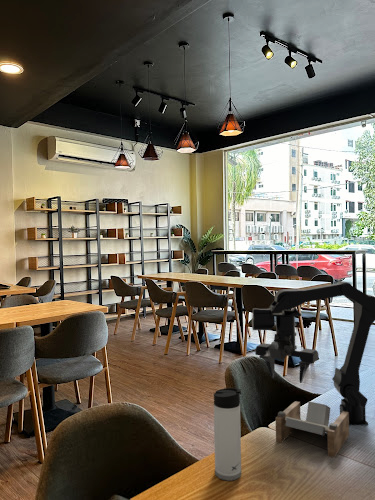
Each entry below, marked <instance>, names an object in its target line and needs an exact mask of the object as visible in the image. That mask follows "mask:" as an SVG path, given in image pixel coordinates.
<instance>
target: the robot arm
mask: <svg viewBox="0 0 375 500" xmlns="http://www.w3.org/2000/svg"><path fill="white" fill-rule="evenodd" d="M335 297H336V298H337V297H345V298H346V299H347V300H349V301H350V302H352V303H353V304H354V307H353V313H354V325H353V327H352V331H351V336H350V339H349V343H348V347H347V351H346V354H345V358H344V362H343V365H342V366H341V367H340V368H337V367H335V370H334V375H333V377H332V378H331V379H332V381H333V386H334V388H335V390H336V391H337V392H338V393H339V394H340V396H341V397H342V398H341V400H340V404H339V415H340V414H341V413H342V412H343V411H345V412H349V426H368V425H369V422H368V421H367V420H366V419H367V416H366V413H367V412H366V406H367V404H368V400H369V399H368V398H367V397H366V396H365V394H363V393H362V392H361V391H360V388H361V380H360V367H361V364H362V360H363V356H364V352H365V348H366V345H367V342H368V337H369V333H370V331H371V330H370V329H371V327H372V326H373V324H374V322H375V296H373V295H371V294H367V293H364V292H363V291H362V290H360V289H358V288H356V287H354V286H353V285H352V284H351V283H349V282H346V281H340V282H337V283H332V284H328V285H321V286H315V287H310V288H304V289H294V288H293V289H292V288H290V289H289V288H288V289H286V288H285V289H284V288H283V289H279V290H277V291H276V293H275V294H274V300H273V301H272V303H271V304H270V306H269V307H268V308H258V307H257V308H252V317H251V326H252V328H251V329H252V331H272V329H274V327H275V328H276V329H275V333H274V335H273V336H274V338H273V341H272V342H271V343H264V342H263V343H260V344H257V345H256V346H255V349H254V350H255V351H254V353H255V356H259V358H260V359H262V360H263V361H264V362H265V364H266V366H267V368H268V372H269V374H270V377H271V379H274V378H275V368H276V367H275V365H276V364H275V359H277V360H281V361H282V360H285V359H286V358H287V357H293V358H294V357H295V358H299V360H300V361H299V362H298V365H299V376H298V377H299V378H298V379H299V383H300V384H302V383H303V382H304V379H305V376H306V373H307V370H308V368H309V366H311V364H313V363H315V362H316V361H318V360H319V356H320V355H319V352H318V351H317V350H316V349H310V348H304V349H302V350H297V349H298V347H297V344H296V337H297V331H296V322H295V320H296V317H302V313H300V311H298V310H297V307H299V306H301V305H304V304H305V303H309V302H315V301H321V300H325V299H331V298H335Z"/></svg>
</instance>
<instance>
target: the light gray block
mask: <svg viewBox="0 0 375 500" xmlns="http://www.w3.org/2000/svg"><path fill="white" fill-rule="evenodd" d="M330 415H331V407H330V406H329V405H326V404H322V403H319V402H314V401H308V403H307V411H306V417H305V421H308V422H312V423H316V424H321V425H325V426H329V425H330Z"/></svg>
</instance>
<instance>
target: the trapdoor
mask: <svg viewBox="0 0 375 500" xmlns="http://www.w3.org/2000/svg"><path fill="white" fill-rule="evenodd" d="M285 420H286V424H285V426H288V427H291V428H295V430H296V429H297V430H300V431H304V432H308V433H312V434H316V435H320V436H324V437H325V433H326V434H327V430H328V429H329V425H328V426H325V425H321V424H316V423H312V422H308V421H306V420H303V419H301V420H299V419H295V418H291V417H286V418H285Z"/></svg>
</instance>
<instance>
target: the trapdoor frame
mask: <svg viewBox="0 0 375 500" xmlns="http://www.w3.org/2000/svg"><path fill="white" fill-rule="evenodd" d="M286 417H291V418H295V419H299V420H302V419H301V418H302V416H301V401H297V400H296V401H293V402H292V403H291V404H290V405H289V406H288V407H286V408H285V409H284V410H283V411H281V410H280V411H279V412H277V416H275V442H276V441H277V443H280V442H281V443H283V442H284V441H285V440H286V439H287V438H288V437H289V436H290V435H291V434H292V433H293V432H294V431H295V430H296V429H295V428H291V427H288V426H285V424H286V420H285V418H286ZM328 426H329V429H328V430H327V433H326V434H327V457H331V458H335V457H336V456H337V455H338V453H339V451H340V450H341V448H342V447H343V446H344V444H345V442H346V441H347V439H348V438H349V437H350V425H349V412H345V411H343V412H342V413H341V414H340V413H339V416H338V417H337V418H336V419H335V420H334V421H333V422H329V425H328Z"/></svg>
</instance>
